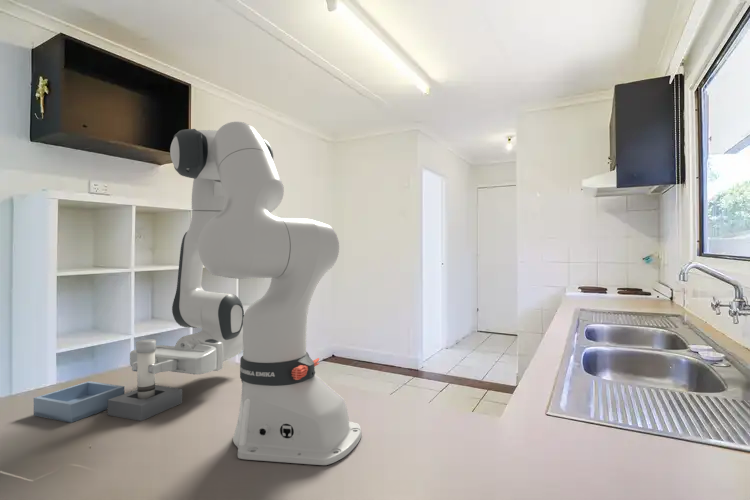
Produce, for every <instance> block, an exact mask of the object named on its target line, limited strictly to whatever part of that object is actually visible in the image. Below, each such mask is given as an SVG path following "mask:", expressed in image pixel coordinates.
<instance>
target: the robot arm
mask: <svg viewBox="0 0 750 500" xmlns="http://www.w3.org/2000/svg"><path fill="white" fill-rule="evenodd" d="M169 151H170V152H169V153H170V159H171V162H172V164H173V167H174V170H175V171H176V172H177V174H179V175H180V176H182V177H185V178H189V179H193V181H192V189H191V190H192V191H191V220H190V224H189V228H188V230H187V231H186V232H185V233H184V234H183V237H182V240H181V244H180V251H179V261H178V270H177V271H178V272H177V273H178V274H177V282H176V283H177V284H176V288H175V294H174V298H173V301H172V305H171V312H172V316H173V318H174V321H175V322H176V323H177V324H178V326H180V327H183V328H192V329H193V328H195V329H196V328H197V329H198V328H199V329H201V330H200V331H199V332H195V333H192V334H191V333H190V334H187V335H184V336H182V337H179V339H178V340H177V341H176V344H175V345H165V344H164V345H163V344H159V345H158V344H156V351H155V363H154V364H150V365H149V366H148V369H149V370H148V372H149V373H152V374H155V375H157V374H160V373H166V372H171V373H172V372H173V373H181V374H187V375H204V374H207V373H210V372H216V371H217V372H218V371H221V370H223V366H224V362H226V361H228V360H231V359H232V358H234V357H236V356H238V355H239V354H241V352H242V356H241V357H240V362H239V364H240V365H239V378H240V379H241V395H240V405H239V413H238V417H237V423H236V427H235V431H234V434H233V436H232V441H233V442H232V443H233V444H234V445H235V446H236V448H237V458H238V459H240V460H249V461H264V462H275V463H289V464H290V463H291V464H302V465H303V464H304V465H317V466H327V465H328V466H329V465H331V464H333V463H336V462H339V460H341V459H343V458H345V457H346V456H348V455H349V454H350V453H351V452H352V451H353V450H354V449H355V448H356V446H357V445H358V443H359V442H360V440H361V438H362V427H361V425H360V424H359V423H358V422H353V421H350V420H349V412H348V407H347V403H346V400H345V399H344V397H342V395H340V394H339V393H338V392H336V391H335V390H334V389H333V388H331V386H329V384H327V383H326V382H325V381H324V380H323V379H322V378H320V377H319V376H318V375H317V374H316V370H315V368H316V367H317V366H318V365H320V362H319V361H320V358H319V357H318V358H315V359H314V360H313V359H312V358H311V357H310V355H309V353H308V351H307V329H308V326H307V325H308V316H309V315H308V313H309V307H310V303H311V301H312V297H313V295H314V292H315V290H316V288H317V286H318V285H319V283H320V281H321V280H322V278H323V277H324V276H325V274H326V273H328V272H329V270H331V269H332V268H333V267H334V266H335V263H336V262H337V260H338V257H339V253H340V241H339V237H338V234H337V233H336V231H335V230H334V228H333V227H332V226H331V225H330V224H328V223H325V222H322V221H319V220H315V219H311V218H307V217H305V218H304V217H288V216H277V215H274V214H272V213H273V211H275V210H276V209H277V208H278V206H280V204H281V203H282V200H283V197H284V193H285V188H284V187H285V186H284V183H283V181H282V179H281V175H280V174H279V171H278V168H277V166H276V163H275V161H274V153H273V148H272V146H271V144H270V142H268V140H266V139H264V138H262V136H261V135H260V134H259V133H258V131H257V130H256V129H255V128H254V127H253V126H252V125H250V124H248V123H246V122H242V121H230V122H227V123H225V124H223V125H222V126H220V128H218V130H216V129H215V130H214V129H213V130H212V129H211V130H210V129H206V130H205V129H200V130H197V129H196V128H187V129H186V128H185V129H181V130H179V131H178V132H177V133H175V134H174V135H173V139H172V141H171V144H170V148H169ZM204 268H205V269H206V271H208V273H210V274H211V275H212V276H217V277H222V278H228V279H236V280H251V279H252V280H255V279H271V280H270V284H269V287H268V289H267V291H266V292H265V294H264V295H263V296H262V297H260V298H259V299H257V300H256V301H254V302H252V303H251V304H250V305H249V306H248V307H247V309H246V310H245V311H244V306H243V303H242V301H241V299H240V298H239V297H238V296H237V295H235V294H233V293H226V292H218V291H207V290H205V289H204V288H203V286H202V281H203V271H204V270H203V269H204ZM129 366H130V367H131V371H132V372H137V352H136V349H132V351H130V353H129Z"/></svg>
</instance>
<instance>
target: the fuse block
mask: <svg viewBox="0 0 750 500" xmlns="http://www.w3.org/2000/svg"><path fill="white" fill-rule="evenodd" d="M182 403H183V388H179V387H172V386H166V385H165V386H164V385H159V384H158V385H157V384H155V396H153V397H151V398H148V399H145V400H143V399H137V389H134V390H131V391H128V392H125V393H124V394H123V395H120V396H117V397H115V398H112V399H109V400H108V409H107V415H108V416H111V417H117V418H123V419H129V420H134V421H138V422H143V421H145V420H147V419H149V418H151V417H154V416H155V415H158V414H160V413H162V412H164V411H167V410H169V409H171V408H174V407H176V406H177V405H178V406H179V405H180V404H182Z"/></svg>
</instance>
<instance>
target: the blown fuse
mask: <svg viewBox="0 0 750 500" xmlns="http://www.w3.org/2000/svg"><path fill="white" fill-rule="evenodd" d="M135 344H136V345H135V347H136V348H135V350H136V352H137V371H136V372H137V377H136V378H137V380H136V381H137V385H136V390H137V399H143V400H145V399H148V398H151V397H153V396H155V385H156V374H152V373H149V372H148V370H149V369H148V366H149V365H150V364H154V363H155V351H156V345H157V339H154V338H153V339H152V338H151V339H141V340H138V341H136V343H135Z"/></svg>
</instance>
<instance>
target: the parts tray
mask: <svg viewBox="0 0 750 500" xmlns="http://www.w3.org/2000/svg"><path fill="white" fill-rule="evenodd" d="M123 394H125V386H123V385H117V384H111V383H110V384H109V383H104V382H98V381H91V380H88V381H84V382H82V383H81V382H80V383H79V384H75V385H72V386H71V385H70V386H67V387H65V388H61V389H58V390H55V391H52V392H48V393H45V394H42V395H38V396H35V397H33V416H34V417H40V418H45V419H50V420H56V421H59V422H60V421H61V422H64V423H71V424H72V423H75V422H78V421H80V420H83V419H85V418H87V417H90V416H93V415H95V414H99V413H101V412H103V411H105V410H108V400H109V399H112V398H115V397H117V396H120V395H123Z"/></svg>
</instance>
